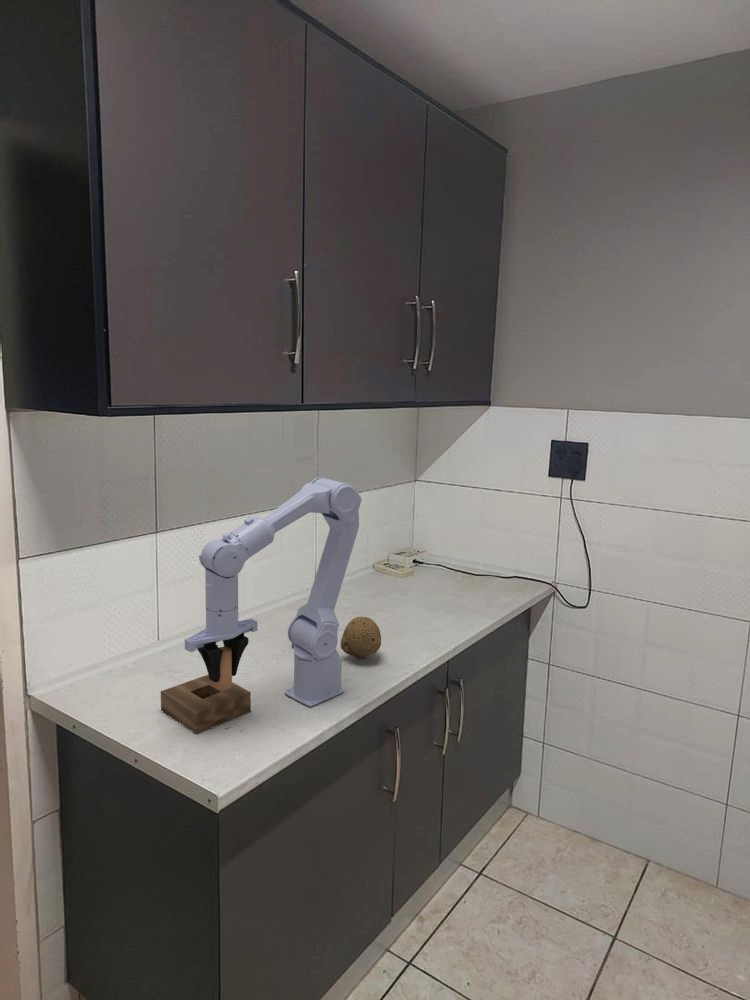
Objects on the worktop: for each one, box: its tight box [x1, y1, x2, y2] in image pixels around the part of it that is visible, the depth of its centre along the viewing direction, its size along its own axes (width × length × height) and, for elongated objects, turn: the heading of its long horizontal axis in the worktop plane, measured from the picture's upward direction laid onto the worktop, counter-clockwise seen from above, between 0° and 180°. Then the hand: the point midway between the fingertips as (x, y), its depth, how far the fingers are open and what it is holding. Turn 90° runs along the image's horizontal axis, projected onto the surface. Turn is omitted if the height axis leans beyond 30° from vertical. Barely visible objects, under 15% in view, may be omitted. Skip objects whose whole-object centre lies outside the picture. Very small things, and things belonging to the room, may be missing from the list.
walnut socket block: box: [160, 674, 252, 735], centre depth 130 cm, size 12×12×4 cm
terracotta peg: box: [214, 646, 233, 690], centre depth 125 cm, size 3×3×7 cm
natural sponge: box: [340, 616, 382, 660], centre depth 156 cm, size 9×9×10 cm
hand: (222, 677), depth 125 cm, fingers closed on terracotta peg, 3 cm apart
